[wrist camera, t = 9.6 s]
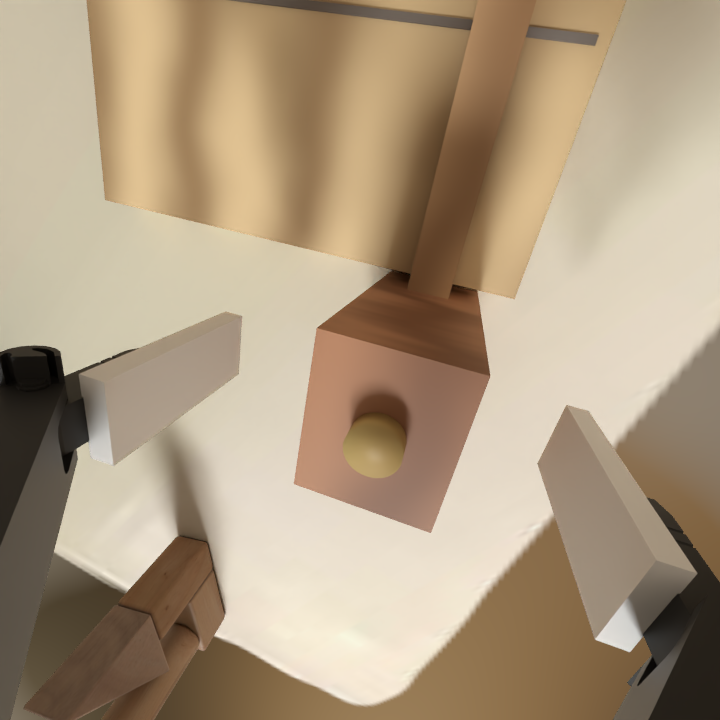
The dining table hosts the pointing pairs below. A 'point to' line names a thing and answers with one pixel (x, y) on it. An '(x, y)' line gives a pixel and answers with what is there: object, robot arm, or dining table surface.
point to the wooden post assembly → (140, 642)
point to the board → (335, 120)
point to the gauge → (415, 322)
